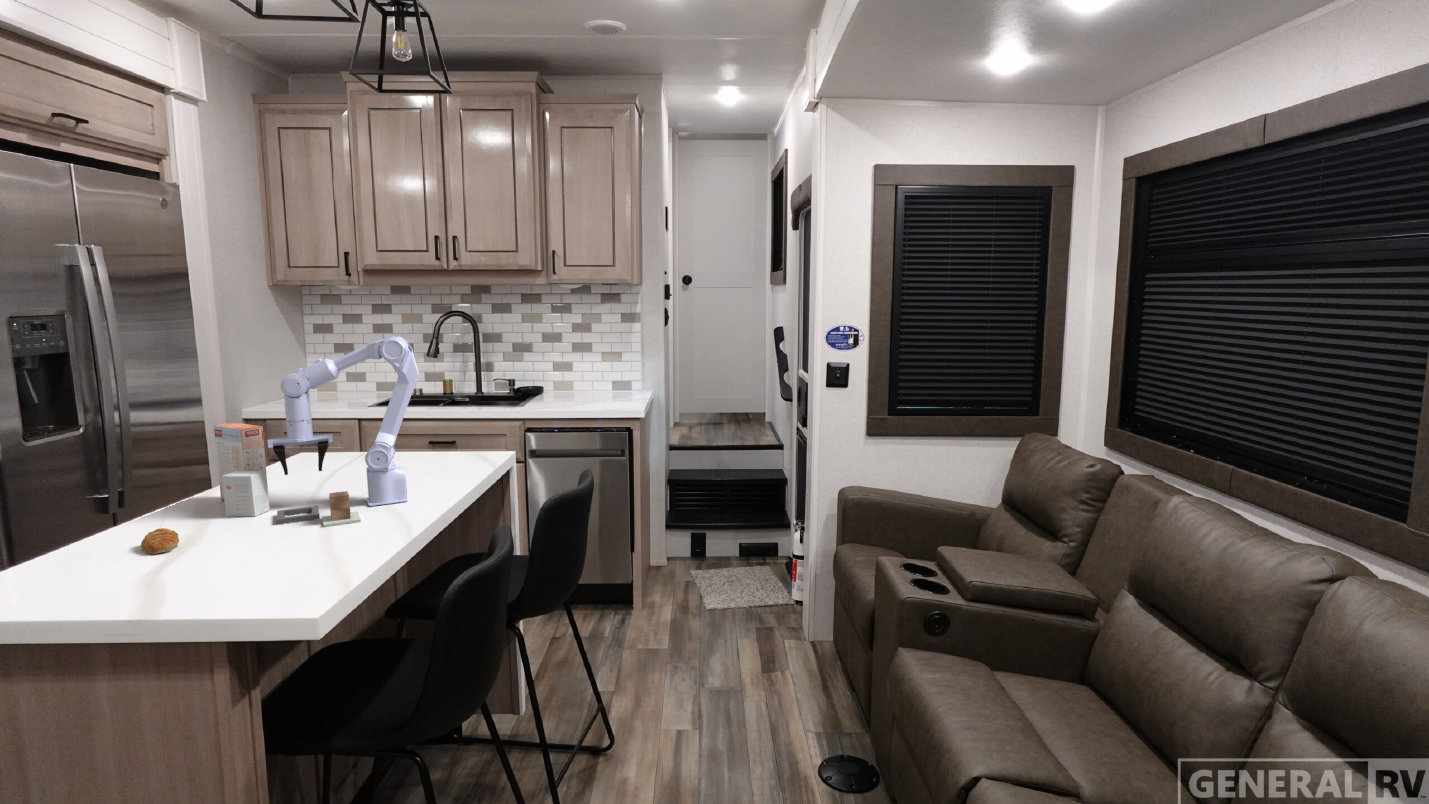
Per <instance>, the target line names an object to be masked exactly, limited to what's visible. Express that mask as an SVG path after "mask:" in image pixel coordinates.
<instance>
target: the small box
mask: <svg viewBox="0 0 1429 804" xmlns="http://www.w3.org/2000/svg"><path fill="white" fill-rule="evenodd" d="M266 474H267V471H266V472H265V471H235V472H232V473H229V474H226V475H223V476H221V477H222V486H223V494H224V501H223V503H224V510H225V516H226V517H251V516H255V517H258V516H259V515H261V513H262V514H265V513H268V512H269V511H270V509H271V508H270V499H269V498H268V497H269V489H267V486H268V479H267V480H266ZM257 515H258V516H257Z"/></svg>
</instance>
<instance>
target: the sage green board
mask: <svg viewBox="0 0 1429 804" xmlns="http://www.w3.org/2000/svg"><path fill="white" fill-rule="evenodd" d="M350 516H351V519H345V520H338V521H332V519H331V514H329V515H323V516H321V519H322V526H324V527H323V528H327V527H334V526H341V525H349V524H355V523H361V522H362V521H361V517H360V515H359V511H350Z"/></svg>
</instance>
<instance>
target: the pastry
mask: <svg viewBox="0 0 1429 804" xmlns="http://www.w3.org/2000/svg"><path fill="white" fill-rule="evenodd" d="M140 543H141V544H140V547H141V549H142V550H143V552H145V553H146V554H148V555H156V554H160V553H166V552H167V553H168V552H173V550H175V549H176V548H178V546H179V543H180V538H179V533H177V532H176V531H175V530H171V529H169V528H157V529H154V530H153V531H148V533H147V534H146V535H144V538H143V539H142V540H141V542H140Z"/></svg>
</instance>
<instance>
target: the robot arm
mask: <svg viewBox="0 0 1429 804" xmlns="http://www.w3.org/2000/svg"><path fill="white" fill-rule="evenodd" d="M381 359H383V360H384V361H385V362H387V363H388V364H390V365H391V366H392V368H393V369H394V371H395V373H396V374H397V379H396V382H395V385H394V387H393V391H392V393H391V397H390V399H389V402H388V405H387V407H386V411H385V413H384V416H383V419H382V422H381V425H380V427H379V430H378V434H377V436H376V438H375V440H374V443H373V444H372V445H371V446H370V448H369V450H368V451H366V454H365V457H364V460H365V461H364V462H365V463H366V464H365V465H366V466H367V467H366V470H365V471H366V480H367V481H366V482H367V483H366V484H367V495H368V496H367V497H366V498H365V500H366V503H367V505H368V507H374V506H376V507H377V506H381V505H389V504H395V503H396V504H397V503H404V502H408V501H409V500H408V487H407V478H406V477H407V476H406V470H405V467H404V466H397V464H396V463H395V462H394V461H393V459H394V458H395V455H396V449H395V445H396V441H397V437H398V434H399V431H400V428H401V425H402V423H403V420H404V417H405V414H406V411H407V408H408V406H409V403H410V400H411V397H412V395H413V391H414V389H415V386H416V383H417V381H418V377H419V374H420V373H419V367H418V365H417V361H416V358H415V355H414V350H413V347H412V346H411V345H410V343H409V342H408V341H407V340H406V339H405V338H404V337H402V336H398V335H393V336H389V337H388V338H384V339H381V340H380V339H379V340H377V341H373V342H370V343H367V344H365V345H362V346H361V347H359V348H357V349H355V350H352V351H350V352H349V353H347V354H345V355H342V356H340V357H338V358H336V359H329V358H323V359H322V358H318V359H315V360H314V363H313V364H310V365H308V366H305V367H303V368H302V367H299V368H297V369H296V372H293V373H289V374H288V375H286V376H285V377H283V378H282V379H281V382H280V390H281V392H282V393H283V395H284V396H283V397H284V398H283V399H284V412H285V422H286V423H285V424H286V434H287V435H286V436H285V437H278V438H271V439H268V438H267V448H268V449H273V452H274V454H275V456H276V457H277V459H278V460H279V463H280V464H281V467H282V469H283V472H284V475H285V476H288V475H289V470H288V469H289V468H288V466H287V465H288V464H287V460H286V448H285V447H289V446H292V447H293V446H299V445H300V446H302V445H310V444H317V454H318V455H317V456H318V462H317V463H318V472H323V464H324V460H325V456H326V453H327V451H328V448H329V443H333V442H334V438H333V437H334V436H333V434H332V433H325V434H314V432H313V420H312V419H313V418H312V408H311V401H310V392H309V391H310V390H314V389H315V390H316V389H317V388H319V387H321V386H325V385H326V384H328V383H330V382H332V381H334V380H336V379H338V378H339V376H340V372H342V371H343V370H345V369H348V368H350V367H352V366H355V365H357V364H359V363H361V362H365V361H367V360H381Z"/></svg>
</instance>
